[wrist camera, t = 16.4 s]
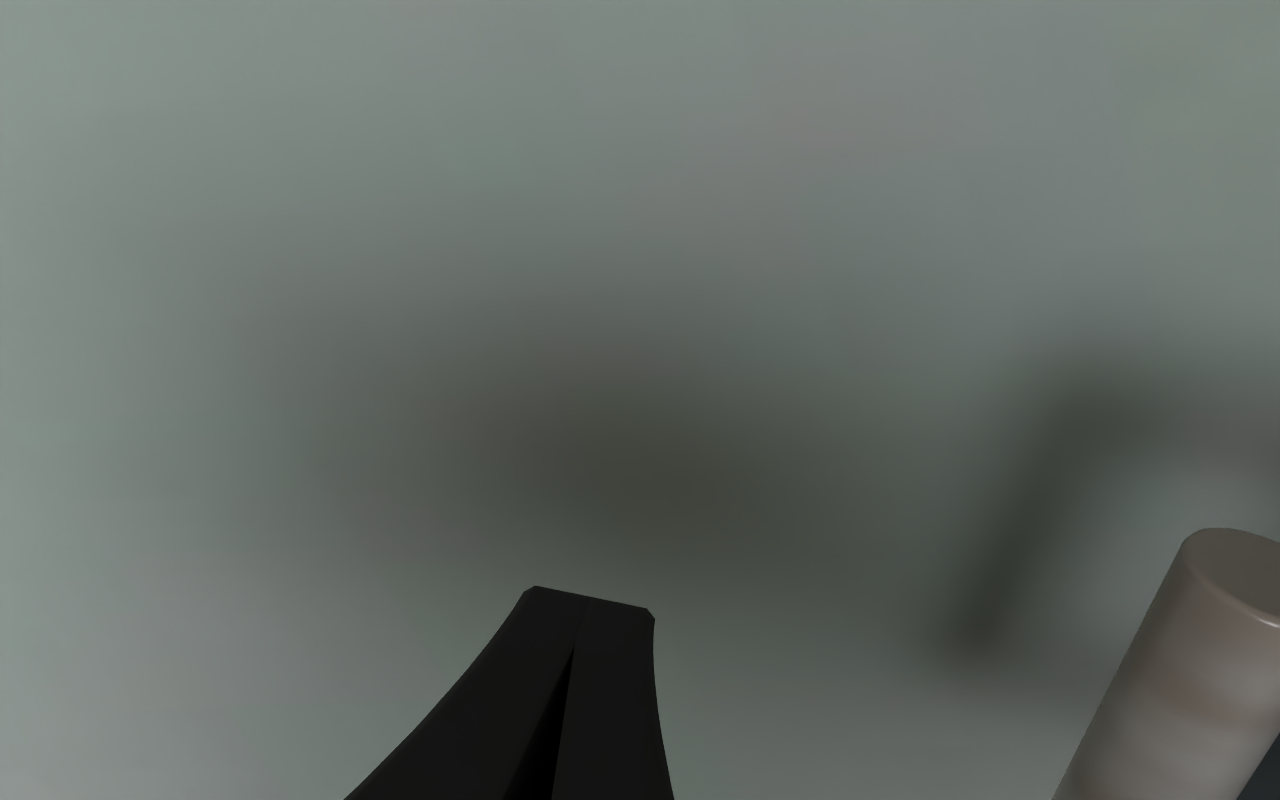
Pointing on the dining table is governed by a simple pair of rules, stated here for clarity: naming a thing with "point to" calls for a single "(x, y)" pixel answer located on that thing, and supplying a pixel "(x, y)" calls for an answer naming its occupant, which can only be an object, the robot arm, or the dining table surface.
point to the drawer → (1194, 685)
